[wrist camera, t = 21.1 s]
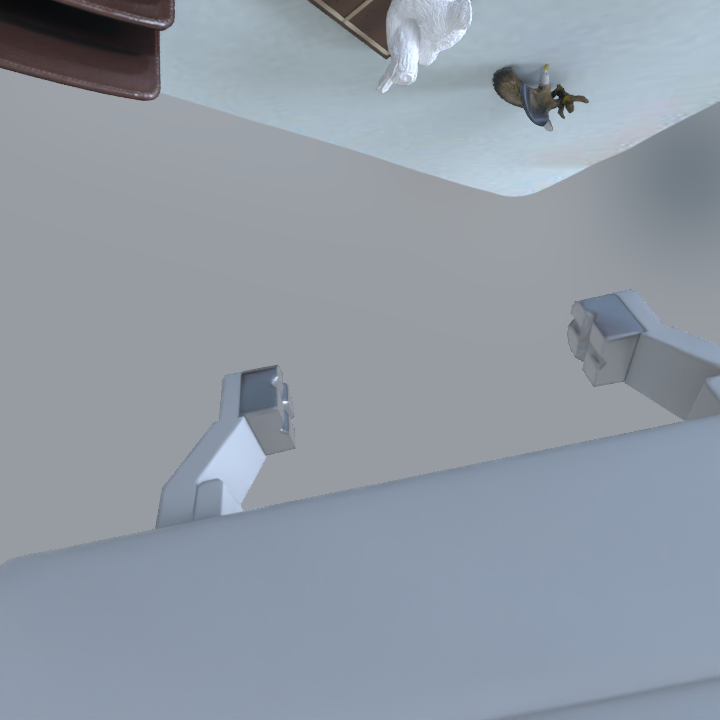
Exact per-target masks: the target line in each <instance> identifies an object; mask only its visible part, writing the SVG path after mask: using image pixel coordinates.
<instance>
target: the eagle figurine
mask: <svg viewBox="0 0 720 720" xmlns="http://www.w3.org/2000/svg"><path fill="white" fill-rule="evenodd" d="M548 66H549V65H548V64H547V65H546V66H545V68H544V70H543V71H542V72H541V75H540V84H539V87H538V88H537V89H532V88H529V87H528V86H527V85H526V84H525V83H522V82H521V81H520V80H519V79H518V77H517V75H516V74H515V72H514V71H513V70H512V69H511V68H508V69H505V68H504V69H502V71H501V70H498V71H497V73H495V74H494V78H493V82H494V83H495V84H493V86H494V89H495V91H496V92H497V94H498V95H499V96H500V97H501V98H502V99H504V100H505V101H506V102H508V103H510V104H512V105H515V106H518V107H521V108H524V110H525V112H526V114H527V116H528V117H529V119H530V120H531V121H532V122H533V123H534V124H536V125H538V126H544V127H545V129H546V130H547V131H553V127H552V124H551V122H550V120H549V115H548V113H549V111H550V110H551V109H554V108H556V107H558V108H559V110H558V114H560V116H561V117H562V118H563V119H565V116H564V114H563V110H564V106H565V107H566V109H567V111H568V112H569V113H572V112H573V111H574V104H573V102H574V101H580V102H584V103H588V102H589V101H588V100H587V98H585V97H584V96H574V95H570V94H569V93H567V92H565V90H564V88H562V86H561V85H560V84H559V85H557V88H556V89H555V90H554V91H552V92H551V85H550V81H549V75H548ZM556 95H557V96H559V99H553V98H554V97H555V96H556Z"/></svg>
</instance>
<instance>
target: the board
mask: <svg viewBox="0 0 720 720" xmlns="http://www.w3.org/2000/svg"><path fill="white" fill-rule="evenodd" d="M308 1H309V2H311V3H312V4H313V5H315V6H316V7H317V8H318V9H320V10H321V11H322V12H324V13H325V14H326V15H328V16H329V17H330V18H332V19H333V20H334V21H336V22H337V23H338V24H340V25H341V26H342V27H344V28H345V29H346V30H348V31H349V32H350V33H352V34H353V35H354V36H356V37H357V38H358V39H360V40H361V41H362V42H364V43H365V44H366V45H368V46H369V47H370V48H372V49H373V50H374V51H376V52H377V53H378V54H379V55H381V56H382V57H383V58H385V59H388V58H389V57H391V55H390V53H389V51H388V45H387V34H386V17H387V12H388V10H389V7H390V5H391V2H392V0H308ZM470 1H471V0H470Z"/></svg>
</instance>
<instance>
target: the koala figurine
mask: <svg viewBox="0 0 720 720" xmlns="http://www.w3.org/2000/svg"><path fill="white" fill-rule="evenodd" d="M471 10H472V8H471V3H470V0H392V2H391V5H390V7H389V10H388V12H387V17H386V34H387V45H388V51H389V53H390V55H391V63H390V65H389V66H388V68H387V70H386V72H385V74H384V75H383V76H382V78H381V80H380V81H379V84H378V86H377V89H376V90H378V91H379V92H380V93H381V94H383V93H384V92H386V91H388V89H389V87H390V86H391V85H392V83H395V84H397V85H410V84H412V83H413V82H414V81H415V79H416V77H417V67H418V66H417V63H418V64H420V65H423V66H429V65H430V64H431V63H432V62H433V61H434V60H435V58H436V57H437V54H438V52H440V51H442V50H446V49H448V48H450V47H451V46H453V45H454V44H455V43H457V42H458V41H459V40H460V39H461V38H462V36H463V35H464V34H465V33H466V30H467V28H469V26H470V21H472V18H471V17H472V11H471Z"/></svg>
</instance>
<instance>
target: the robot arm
mask: <svg viewBox="0 0 720 720" xmlns="http://www.w3.org/2000/svg"><path fill="white" fill-rule="evenodd" d="M571 314H572V315H573V317H574V320H573V321H572V322H571V323H570V324H569V326H568V333H567V335H568V343H569V346H570V349H571V351H572V353H573V354H574V356H575V358H577V359H579V360H581V361H583V362H584V364H583V371H584V373H585V374H586V376H587V377H588V379H589V381H590V382H591V384H592V385H593V387H596V386H602V385H607V384H613V383H618V382H624V381H625V383H626V384H627V385H629V386H631V387H632V388H634V389H635V390H637V391H638V392H640V393H642V394H643V395H645V396H646V397H648V398H650V399H651V400H653V401H654V402H656V403H657V404H659V405H660V406H662V407H664V408H665V409H667V410H668V411H670V412H672V413H673V414H675V415H676V416H678V417H679V418H681V419H683V420H684V421H683V422H678V423H673V424H668V425H663V426H659V427H654V428H649V429H644V430H639V431H634V432H629V433H624V434H619V435H615V436H609V437H604V438H599V439H594V440H589V441H585V442H580V443H575V444H570V445H565V446H561V447H555V448H550V449H545V450H541V451H536V452H531V453H526V454H521V455H516V456H511V457H506V458H502V459H496V460H492V461H487V462H482V463H477V464H472V465H467V466H462V467H457V468H452V469H447V470H443V471H437V472H432V473H428V474H423V475H418V476H413V477H408V478H403V479H398V480H393V481H388V482H383V483H378V484H374V485H369V486H364V487H359V488H354V489H349V490H345V491H340V492H334V493H329V494H325V495H320V496H315V497H310V498H305V499H300V500H295V501H290V502H286V503H280V504H275V505H270V506H266V507H261V508H256V509H251V510H246V511H243V509H242V508H241V506H240V505H241V503H242V501H243V499H244V497H245V496H246V494H247V492H248V490H249V488H250V486H251V485H252V483H253V481H254V479H255V477H256V475H257V473H258V471H259V470H260V468H261V466H262V464H263V462H264V461H265V459H266V455H270V454H274V453H279V452H283V451H287V450H291V449H295V429H294V427H293V424H292V422H291V420H292V418H293V417H294V408H293V402H292V397H291V393H290V390H289V388H288V385H287V384H286V383H284V382H283V373H282V371H281V369H280V366H279V365H274V366H268V367H263V368H258V369H252V370H248V371H243V372H239V373H233V374H228V375H225V376H224V378H223V381H222V391H221V402H220V413H219V421H218V422H214V423H213V424H212V425H211V427H210V428H209V429H208V431H207V432H206V433H205V434H204V436H203V437H202V438H201V439H200V441H199V442H198V443H197V444H196V446H195V447H194V448H193V450H192V451H191V452H190V453H189V455H188V456H187V457H186V459H185V460H184V461H183V462H182V464H181V465H180V466H179V468H178V469H177V470H176V471H175V473H174V474H173V475H172V476H171V478H170V479H169V480H168V482H167V483H166V484H165V485H164V487H163V488H162V493H161V498H160V504H159V510H158V515H157V521H156V528H155V529H153V530H148V531H143V532H138V533H134V534H129V535H124V536H119V537H114V538H109V539H104V540H99V541H94V542H89V543H84V544H80V545H75V546H70V547H65V548H60V549H55V550H49V551H44V552H38V553H33V554H28V555H24V556H20V557H16V558H12V559H10V560H8V561H6V562H4V563H3V564H1V565H0V720H720V346H719V345H717V344H715V343H712V342H710V341H707V340H705V339H702V338H700V337H697V336H695V335H692V334H690V333H687V332H685V331H682V330H680V329H678V328H675V327H666V326H665V325H664V323H663V322H662V321H661V320H660V319H659V318H658V316H657V315H656V314H655V313H654V312H653V311H652V310H651V308H650V307H649V306H648V305H647V304H646V303H645V301H644V300H643V299H642V298H641V297H640V296H639V294H638V293H637V292H636V291H635V290H632V289H629V290H624V291H620V292H616V293H612V294H607V295H603V296H598V297H593V298H589V299H584V300H580V301H575V302H574V304H573V305H572V309H571Z"/></svg>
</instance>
